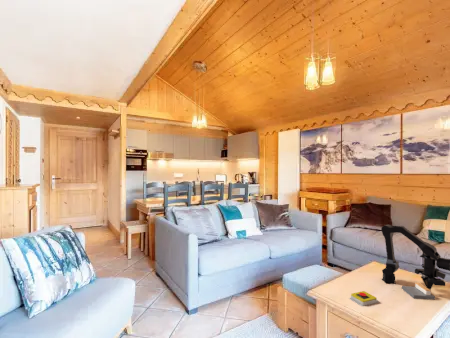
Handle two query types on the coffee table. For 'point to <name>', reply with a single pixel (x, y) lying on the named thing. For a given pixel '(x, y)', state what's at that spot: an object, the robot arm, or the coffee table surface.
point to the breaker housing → (417, 293)
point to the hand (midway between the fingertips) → (428, 290)
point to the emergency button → (363, 298)
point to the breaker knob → (423, 288)
